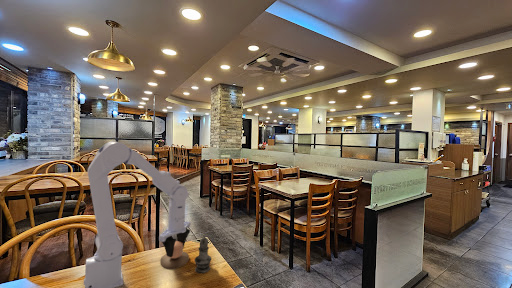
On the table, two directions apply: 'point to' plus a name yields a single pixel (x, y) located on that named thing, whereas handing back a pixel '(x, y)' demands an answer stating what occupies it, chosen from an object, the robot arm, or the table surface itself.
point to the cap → (177, 250)
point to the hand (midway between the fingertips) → (175, 252)
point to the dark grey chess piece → (203, 257)
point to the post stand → (174, 261)
